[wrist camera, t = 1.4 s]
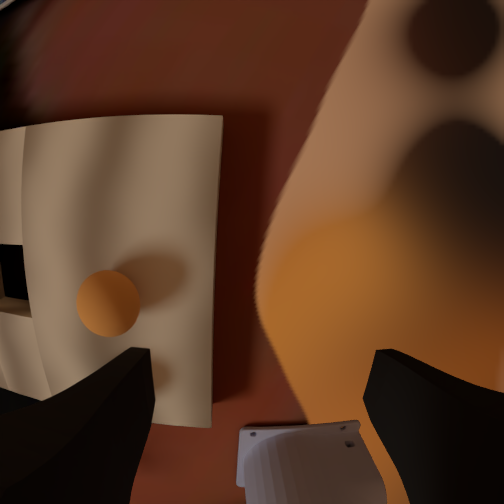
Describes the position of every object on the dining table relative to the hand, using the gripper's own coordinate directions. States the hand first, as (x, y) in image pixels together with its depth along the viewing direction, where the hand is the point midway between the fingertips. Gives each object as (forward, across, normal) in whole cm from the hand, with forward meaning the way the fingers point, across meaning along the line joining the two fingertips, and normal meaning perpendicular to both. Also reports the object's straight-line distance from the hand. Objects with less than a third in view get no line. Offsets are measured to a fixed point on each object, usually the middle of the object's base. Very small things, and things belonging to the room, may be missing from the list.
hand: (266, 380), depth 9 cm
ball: (+5, +7, 0) cm, 9 cm away
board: (+9, +11, 0) cm, 14 cm away
